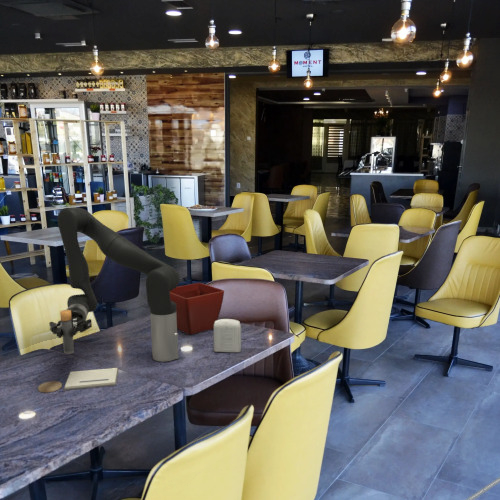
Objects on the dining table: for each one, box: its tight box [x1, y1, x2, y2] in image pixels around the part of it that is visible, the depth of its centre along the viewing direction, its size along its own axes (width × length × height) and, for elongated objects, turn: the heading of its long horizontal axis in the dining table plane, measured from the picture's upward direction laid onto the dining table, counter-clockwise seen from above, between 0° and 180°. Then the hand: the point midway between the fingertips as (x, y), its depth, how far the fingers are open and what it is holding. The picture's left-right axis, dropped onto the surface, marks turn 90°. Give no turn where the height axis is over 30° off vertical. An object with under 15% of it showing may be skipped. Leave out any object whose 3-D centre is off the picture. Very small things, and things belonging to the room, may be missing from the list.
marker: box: [59, 309, 75, 355], centre depth 155 cm, size 3×3×14 cm
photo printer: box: [213, 318, 242, 353], centre depth 183 cm, size 10×4×12 cm, turn 86°
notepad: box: [63, 367, 120, 391], centre depth 161 cm, size 16×12×1 cm
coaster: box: [37, 380, 63, 394], centre depth 156 cm, size 7×7×1 cm
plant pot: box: [170, 282, 225, 335], centre depth 208 cm, size 19×19×17 cm
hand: (65, 334), depth 152 cm, fingers closed on marker, 3 cm apart
